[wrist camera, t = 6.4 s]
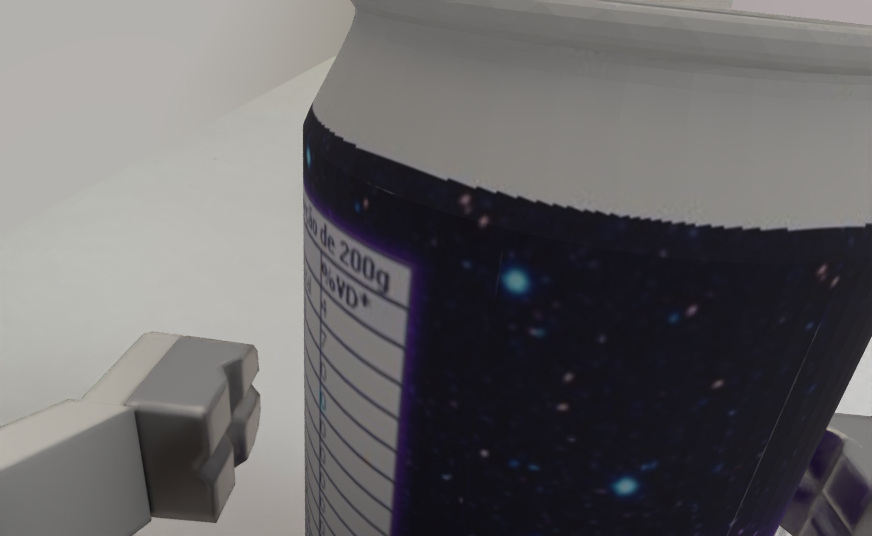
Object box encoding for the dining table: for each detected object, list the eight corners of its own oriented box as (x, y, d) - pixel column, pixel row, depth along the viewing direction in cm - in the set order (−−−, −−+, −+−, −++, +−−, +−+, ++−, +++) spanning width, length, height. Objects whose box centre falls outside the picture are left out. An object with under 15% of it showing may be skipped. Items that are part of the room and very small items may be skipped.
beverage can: (504, 1101, 7) (1036, 53, 2) (239, 729, 10) (166, -48, 5) (679, 721, 11) (1008, 39, 6) (448, 536, 14) (529, -12, 9)
